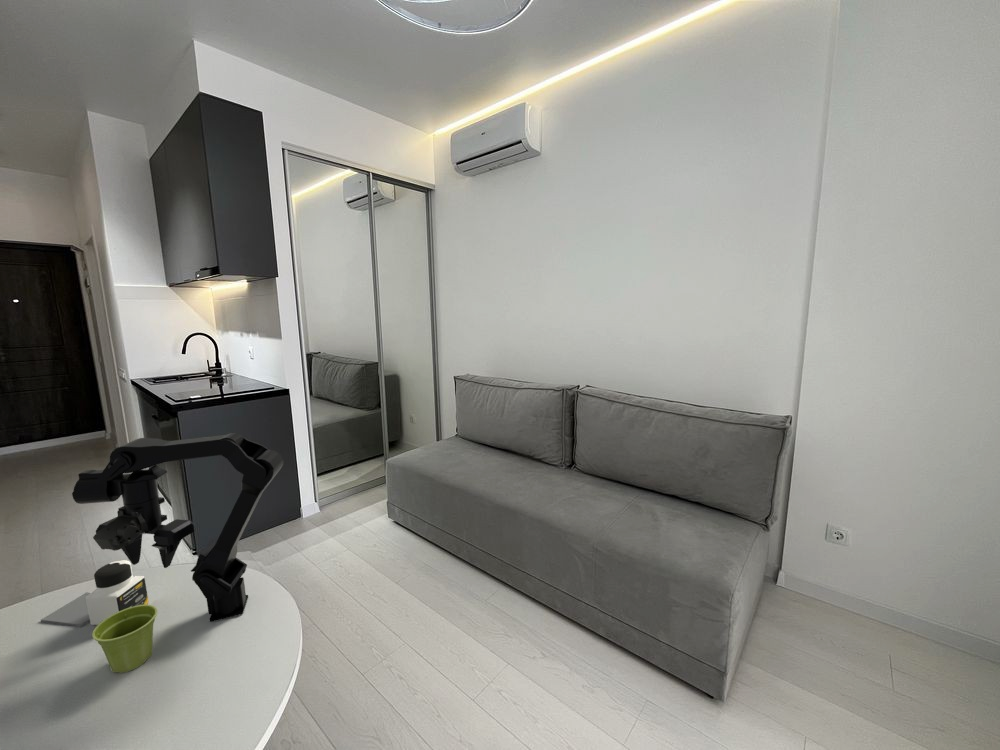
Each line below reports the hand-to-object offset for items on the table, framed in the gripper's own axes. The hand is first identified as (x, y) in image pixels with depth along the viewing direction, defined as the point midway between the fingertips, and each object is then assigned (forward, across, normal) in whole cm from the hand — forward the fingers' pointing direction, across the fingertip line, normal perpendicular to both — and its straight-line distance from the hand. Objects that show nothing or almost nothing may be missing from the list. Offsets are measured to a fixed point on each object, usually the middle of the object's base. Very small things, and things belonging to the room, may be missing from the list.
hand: (151, 565), depth 90 cm
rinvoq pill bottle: (+13, -10, 0) cm, 17 cm away
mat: (+13, -20, 0) cm, 24 cm away
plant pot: (+13, +6, -10) cm, 18 cm away
